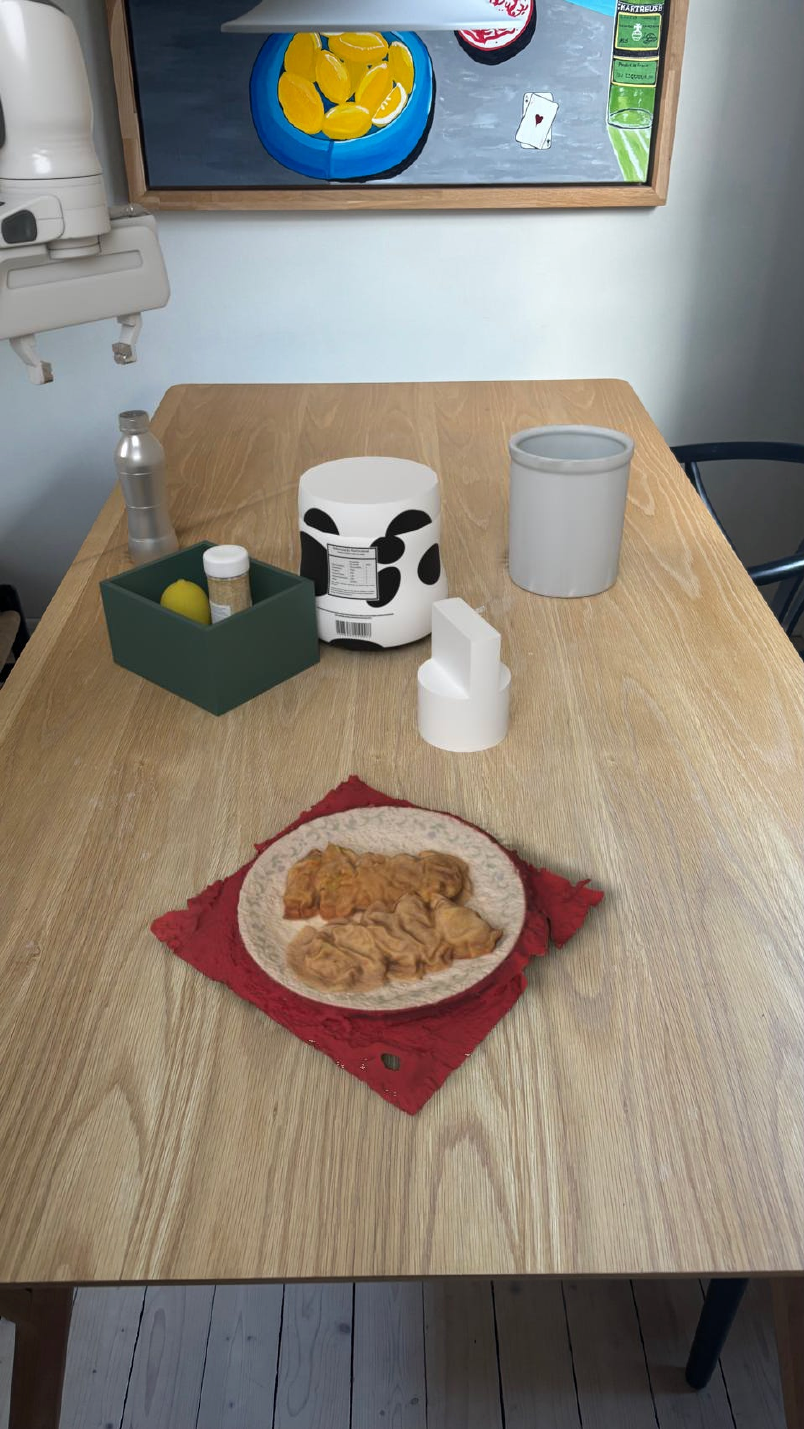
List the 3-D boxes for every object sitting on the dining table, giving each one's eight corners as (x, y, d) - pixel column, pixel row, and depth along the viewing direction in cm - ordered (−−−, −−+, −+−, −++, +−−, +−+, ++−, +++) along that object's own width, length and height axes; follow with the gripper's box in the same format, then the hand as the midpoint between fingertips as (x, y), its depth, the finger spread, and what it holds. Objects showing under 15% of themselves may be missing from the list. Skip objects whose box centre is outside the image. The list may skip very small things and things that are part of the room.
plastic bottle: (123, 575, 133) (96, 421, 122) (143, 554, 139) (118, 405, 128) (170, 578, 132) (147, 423, 121) (188, 556, 138) (168, 407, 127)
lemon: (196, 629, 118) (187, 565, 114) (224, 645, 115) (216, 579, 111) (155, 645, 115) (144, 580, 111) (183, 662, 112) (173, 595, 107)
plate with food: (354, 790, 93) (352, 759, 91) (604, 906, 79) (606, 872, 77) (148, 942, 78) (140, 908, 76) (411, 1119, 64) (409, 1083, 62)
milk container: (407, 585, 129) (406, 444, 120) (474, 643, 116) (478, 491, 106) (277, 613, 123) (265, 467, 113) (332, 678, 110) (323, 520, 100)
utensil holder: (485, 561, 135) (489, 429, 126) (587, 546, 139) (599, 417, 130) (531, 608, 123) (540, 466, 114) (641, 590, 127) (658, 452, 118)
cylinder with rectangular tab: (403, 714, 104) (401, 608, 97) (482, 695, 107) (486, 590, 100) (441, 761, 97) (442, 649, 90) (524, 739, 100) (531, 629, 93)
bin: (113, 662, 114) (98, 581, 108) (214, 616, 123) (205, 539, 118) (218, 717, 104) (207, 631, 98) (319, 662, 113) (314, 580, 108)
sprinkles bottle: (265, 671, 110) (254, 555, 103) (225, 681, 108) (210, 564, 101) (250, 653, 113) (238, 539, 106) (211, 663, 112) (196, 548, 104)
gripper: (131, 199, 99) (152, 347, 106) (-69, 222, 86) (-29, 389, 93) (173, 203, 95) (191, 356, 103) (-29, 228, 82) (9, 401, 90)
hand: (85, 372), depth 98 cm, fingers open, 8 cm apart
